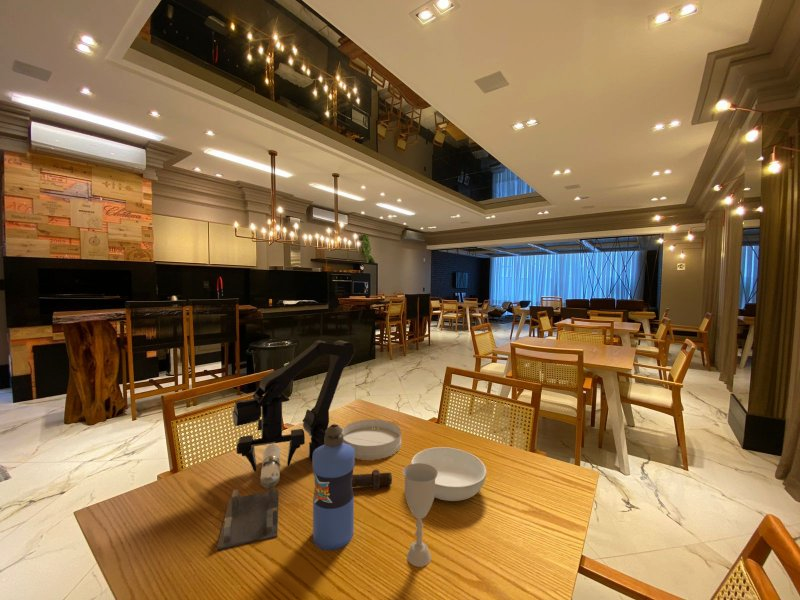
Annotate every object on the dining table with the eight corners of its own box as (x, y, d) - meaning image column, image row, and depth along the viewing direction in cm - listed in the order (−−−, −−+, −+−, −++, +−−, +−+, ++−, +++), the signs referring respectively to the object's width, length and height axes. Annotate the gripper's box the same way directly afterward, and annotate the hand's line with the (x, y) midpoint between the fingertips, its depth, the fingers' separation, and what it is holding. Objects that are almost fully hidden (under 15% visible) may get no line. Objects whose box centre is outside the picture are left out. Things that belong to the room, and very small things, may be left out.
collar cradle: (278, 491, 88) (278, 478, 88) (277, 536, 72) (277, 520, 72) (229, 501, 84) (229, 487, 84) (216, 550, 68) (216, 533, 68)
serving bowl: (488, 519, 79) (489, 491, 79) (404, 506, 83) (404, 480, 83) (483, 472, 99) (484, 450, 99) (416, 464, 103) (416, 443, 103)
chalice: (436, 545, 70) (437, 464, 70) (436, 572, 64) (438, 482, 63) (403, 542, 71) (403, 462, 71) (400, 568, 64) (400, 480, 64)
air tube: (281, 457, 106) (279, 442, 106) (280, 485, 91) (278, 467, 91) (264, 461, 104) (262, 446, 104) (261, 490, 89) (259, 473, 89)
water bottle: (336, 514, 80) (336, 414, 79) (362, 532, 74) (363, 425, 73) (303, 536, 73) (303, 426, 72) (330, 558, 67) (330, 439, 66)
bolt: (391, 493, 92) (337, 497, 89) (389, 475, 96) (337, 478, 93) (393, 481, 89) (338, 485, 86) (391, 464, 93) (338, 467, 90)
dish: (328, 454, 109) (328, 440, 109) (355, 428, 130) (355, 416, 130) (390, 466, 103) (390, 450, 102) (408, 436, 124) (408, 423, 124)
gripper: (302, 405, 108) (302, 451, 108) (241, 411, 102) (241, 460, 102) (304, 417, 97) (304, 468, 98) (236, 425, 91) (236, 479, 92)
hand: (272, 468), depth 98 cm, fingers open, 9 cm apart
